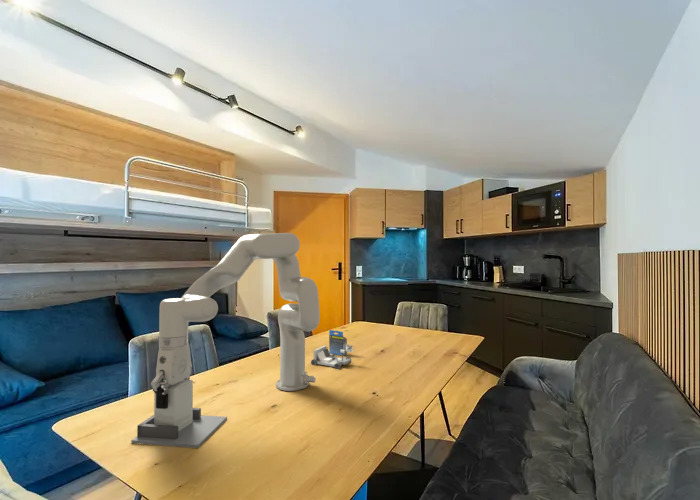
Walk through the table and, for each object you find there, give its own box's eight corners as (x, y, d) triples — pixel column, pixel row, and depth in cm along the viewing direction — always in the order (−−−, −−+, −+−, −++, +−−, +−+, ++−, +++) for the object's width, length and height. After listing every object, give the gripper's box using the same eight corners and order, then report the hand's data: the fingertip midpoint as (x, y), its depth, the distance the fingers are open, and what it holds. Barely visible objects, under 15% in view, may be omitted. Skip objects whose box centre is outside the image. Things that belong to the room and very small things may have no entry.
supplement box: (193, 422, 102) (194, 379, 103) (174, 434, 95) (174, 388, 95) (173, 419, 104) (173, 377, 105) (152, 431, 97) (153, 385, 98)
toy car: (356, 343, 163) (345, 349, 152) (356, 364, 162) (345, 371, 152) (323, 339, 171) (310, 344, 160) (323, 358, 171) (310, 365, 160)
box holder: (226, 419, 106) (227, 407, 106) (197, 448, 90) (198, 433, 90) (169, 415, 108) (169, 403, 108) (131, 443, 92) (131, 428, 93)
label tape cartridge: (347, 354, 177) (347, 330, 177) (343, 356, 174) (343, 331, 174) (333, 351, 182) (333, 328, 182) (328, 353, 179) (328, 329, 179)
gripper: (166, 349, 91) (165, 415, 91) (202, 335, 108) (201, 390, 108) (140, 348, 92) (139, 413, 92) (179, 334, 109) (179, 388, 109)
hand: (173, 400), depth 100 cm, fingers open, 9 cm apart
